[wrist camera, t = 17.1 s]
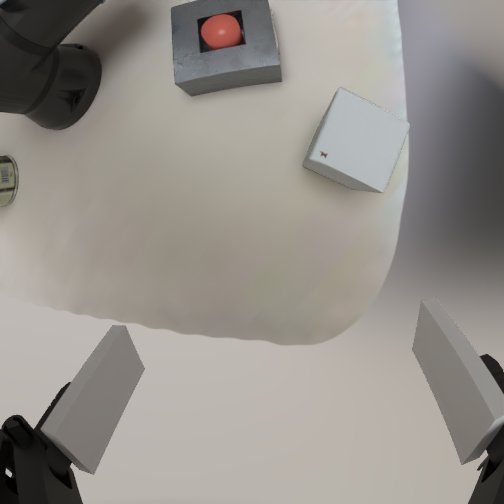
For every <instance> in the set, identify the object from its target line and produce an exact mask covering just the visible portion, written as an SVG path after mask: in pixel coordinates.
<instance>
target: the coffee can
mask: <svg viewBox="0 0 504 504" xmlns="http://www.w3.org/2000/svg"><path fill="white" fill-rule="evenodd" d="M17 187H18V170H17V166H16V163H15V161H14V159H13V158H12V157H11V156H8V155H6V156H0V206H7V205H9V204H10V203H11V202H12V201H13V200H14V197H15V195H16V192H17Z"/></svg>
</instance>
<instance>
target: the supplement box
mask: <svg viewBox="0 0 504 504" xmlns="http://www.w3.org/2000/svg"><path fill="white" fill-rule="evenodd" d="M409 127H410V123H408V122H406V121H404V120H403V119H401V118H399V117H397V116H395V115H394V114H392V113H390V112H388V111H386V110H384V109H383V108H381V107H379V106H377V105H375V104H374V103H372V102H370V101H368V100H366V99H364V98H362V97H360V96H358V95H356V94H354V93H352V92H350V91H348V90H346V89H344V88H342V87H339V88H338V90H337V91H336V93H335V95H334V97H333V99H332V101H331V103H330V105H329V107H328V109H327V111H326V113H325V115H324V116H323V118H322V120H321V122H320V125H319V127H318V129H317V131H316V133H315V136H314V138H313V140H312V143H311V145H310V148H309V150H308V153H307V155H306V158H305V161H304V163H303V166H304V167H306V168H308V169H310V170H312V171H314V172H317V173H319V174H321V175H323V176H325V177H327V178H329V179H331V180H333V181H336V182H338V183H340V184H342V185H344V186H346V187H348V188H351V189H353V190H361V191H369V192H377V193H384V191H385V189H386V187H387V185H388V182H389V180H390V178H391V175H392V173H393V170H394V168H395V165H396V163H397V160H398V157H399V155H400V152H401V150H402V147H403V144H404V141H405V139H406V136H407V133H408V130H409Z"/></svg>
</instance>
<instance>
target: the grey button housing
mask: <svg viewBox="0 0 504 504" xmlns="http://www.w3.org/2000/svg"><path fill="white" fill-rule="evenodd" d="M221 14H225V15H230V16H232V17H234V18H235V19H236V20H237V22H238V24H239V27H240V29H241V32H242V34H243V37H244V40H245V45H240V46H234V47H229V48H223V49H218V50H213V51H212V50H211V49H210V47H209V46H208V44H207V43H206V41H205V40H204V38H203V37H202V34H201V29H202V26H203V24H204V23H205V22H206V21H207V20H208V19H209V18H211V17H213V16H216V15H221ZM171 23H172V45H173V63H174V78H175V84H176V85H177V86H178V87H180V88H181V89H182V90H184V91H185V92H186V93H188V94H189V95H190V96H195V95H200V94H204V93H209V92H214V91H219V90H225V89H231V88H236V87H243V86H249V85H256V84H264V83H272V82H281V81H282V78H281V69H280V62H279V56H278V55H279V47H278V42H277V36H276V31H275V26H274V21H273V16H272V11H271V9H270V8H269V3H268V0H197V1H193V2H189V3H185V4H182V5H178V6H175V7H172V8H171Z"/></svg>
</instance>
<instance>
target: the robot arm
mask: <svg viewBox="0 0 504 504" xmlns="http://www.w3.org/2000/svg"><path fill="white" fill-rule="evenodd" d="M105 1H106V0H0V112H5V113H15V114H23V115H25V116H26V117H28V118H29V119H31V120H32V121H34V122H36V123H37V124H38V125H40V126H41V127H44V128H47V129H55V130H60V129H64V128H67V127H69V126H71V125H72V124H74V123H75V122H76V121H77V120H78V119H79V118H80V117H81V116H82V115H83V114H84V113H85V112H86V110H87V109H88V108H89V106H90V104H91V103H92V101H93V99H94V97H95V95H96V92H97V90H98V87H99V83H100V78H101V63H100V59H99V57H98V55H97V54H96V52H95V51H93V50H92V49H90V48H88V47H86V46H84V45H81V44H60V43H61V42H62V41H63V40H64V38H65V37H66V36H67V35H68V34H69V33H70V32H71V31H72V30H73V29H74V28H75V27H76V26H77V25H78V24H79V23H80V22H81V21H82V20H83V19H84V18H85V17H86V16H87V15H88V14H89V13H91V12H92V11H93V10H94V9H95V8H96V7H97V6H98V5H99V4H103V3H104V2H105ZM412 350H413V352H414V354H415V356H416V358H417V360H418V362H419V364H420V366H421V368H422V370H423V373H424V375H425V377H426V379H427V381H428V383H429V386H430V388H431V390H432V392H433V394H434V397H435V399H436V401H437V403H438V406H439V408H440V410H441V413H442V415H443V418H444V420H445V422H446V425H447V427H448V430H449V432H450V435H451V437H452V440H453V442H454V445H455V448H456V451H457V453H458V456H459V459H460V462H461V465H463V464H466V463H468V462H470V461H473V460H475V459H477V458H479V457H480V456H481V455H482V453H483V452H484V451H485V450H487V453H488V456H487V458H486V459H485V460H484V461H483V462H482V463H481V464H480V466H479V467H478V469H477V470H478V471H479V470H480V469H481V468H482V467H483V469H482V471H481V474H480V476H479V479H478V481H477V484H476V486H475V489H474V491H473V494H472V496H471V498H470V500H469V502H468V504H504V372H503V369H502V368H501V366H500V365H499V363H498V362H497V361H496V360H495V359H493V358H492V357H491V356H489V355H488V354H485V355H482V356H478V354H477V352H476V351H475V350H474V348H473V346H472V345H471V344H470V342H469V341H468V340H467V338H466V337H465V335H464V334H463V332H462V331H461V330H460V329H459V327H458V326H457V324H456V323H455V322H454V320H453V319H452V318H451V317H450V315H449V314H448V313H447V311H446V310H445V309H444V307H443V306H442V305H441V303H440V302H439V301H438V300H437V298H431V299H426V300H421V305H420V311H419V317H418V322H417V328H416V333H415V339H414V343H413V348H412ZM144 369H145V368H144V366H143V364H142V362H141V360H140V358H139V355H138V353H137V351H136V349H135V347H134V344H133V342H132V340H131V338H130V335H129V333H128V330H127V328H126V326H116V325H115V326H114V325H113V326H112V327H111V328H110V330H109V331H108V332H107V334H106V335H105V336H104V338H103V339H102V340H101V342H100V343H99V344H98V346H97V347H96V349H95V350H94V351H93V353H92V354H91V355H90V357H89V358H88V359H87V361H86V362H85V364H84V365H83V366H82V368H81V369H80V371H79V372H78V374H77V375H76V376H75V378H74V379H73V381H72V382H69V383H67V384H66V385H65V386H64V387H63V388H61V390H60V391H59V393H58V394H57V395H56V397H55V399H54V400H53V401H52V403H51V406H49V407H48V409H47V410H46V412H45V413H44V415H43V416H42V418H41V419H40V421H39V422H38V424H37V425H36V427H35V428H34V430H33V428H32V427H31V426H30V425H29V424H28V423H27V421H26V420H25V419H24V418H23V417H22V416H20V415H13V416H11V417H9V418H8V419H7V420H6V421H5V422H4V424H3V425H2V429H0V504H83V503H82V500H81V497H80V493H79V490H78V487H77V483H76V480H75V476H74V473H73V471H72V469H71V468H70V465H71V463H73V464H74V465H76V467H77V468H79V470H82V471H85V472H87V473H90V474H93V475H94V473H95V471H96V469H97V467H98V465H99V462H100V460H101V458H102V456H103V454H104V452H105V449H106V447H107V445H108V443H109V441H110V439H111V436H112V435H113V432H114V430H115V428H116V426H117V424H118V422H119V419H120V418H121V416H122V413H123V412H124V410H125V407H126V405H127V403H128V401H129V399H130V397H131V395H132V393H133V391H134V389H135V387H136V385H137V383H138V381H139V379H140V377H141V375H142V373H143V371H144ZM6 468H7V469H8V470H9V471H10V472H11V473H12V476H11V478H10V477H9V476H8V475H6V474H5V471H6Z"/></svg>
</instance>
